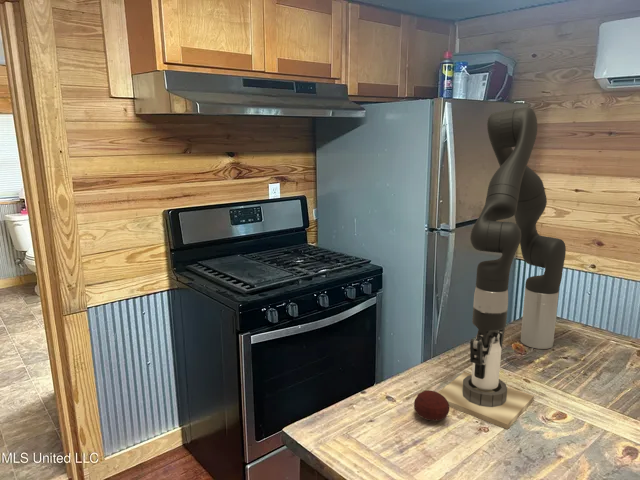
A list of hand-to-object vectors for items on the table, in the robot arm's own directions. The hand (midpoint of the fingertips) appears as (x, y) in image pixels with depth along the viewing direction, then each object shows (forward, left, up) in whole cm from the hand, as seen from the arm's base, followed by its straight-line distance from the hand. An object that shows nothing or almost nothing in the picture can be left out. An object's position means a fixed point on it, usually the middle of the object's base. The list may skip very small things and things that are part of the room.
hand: (485, 372), depth 118 cm
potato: (+15, -6, -8) cm, 18 cm away
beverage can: (0, 0, -4) cm, 4 cm away
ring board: (0, 0, -7) cm, 7 cm away
